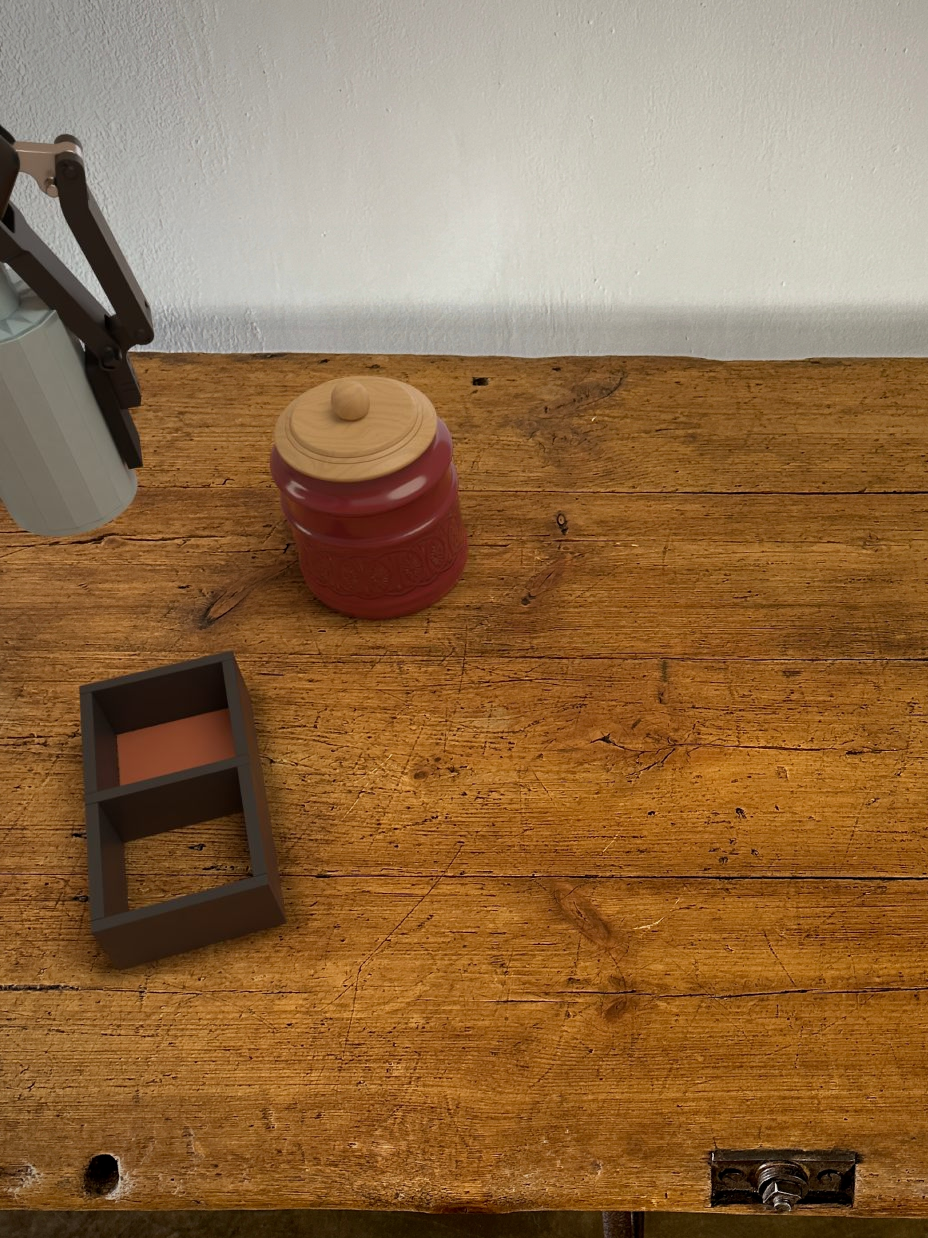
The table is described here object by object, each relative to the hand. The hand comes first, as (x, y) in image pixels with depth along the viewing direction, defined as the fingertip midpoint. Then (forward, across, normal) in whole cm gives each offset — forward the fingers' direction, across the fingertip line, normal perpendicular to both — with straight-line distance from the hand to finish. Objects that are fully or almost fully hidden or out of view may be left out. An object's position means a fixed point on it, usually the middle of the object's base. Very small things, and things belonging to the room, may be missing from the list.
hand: (61, 466), depth 66 cm
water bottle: (+2, 0, 0) cm, 2 cm away
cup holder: (+25, -1, -8) cm, 26 cm away
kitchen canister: (+25, +16, +12) cm, 32 cm away
